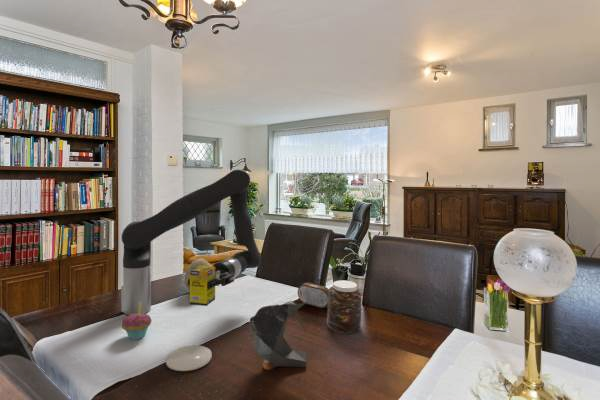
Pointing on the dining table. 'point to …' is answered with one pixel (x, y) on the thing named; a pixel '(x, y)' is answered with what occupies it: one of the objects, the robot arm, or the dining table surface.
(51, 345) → the dining table surface
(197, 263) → the fossilized egg
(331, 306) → the jar
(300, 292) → the tin
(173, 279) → the dining table surface
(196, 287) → the supplement box
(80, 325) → the dining table surface
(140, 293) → the robot arm
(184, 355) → the plate
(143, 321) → the cupcake
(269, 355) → the grey bird figurine
